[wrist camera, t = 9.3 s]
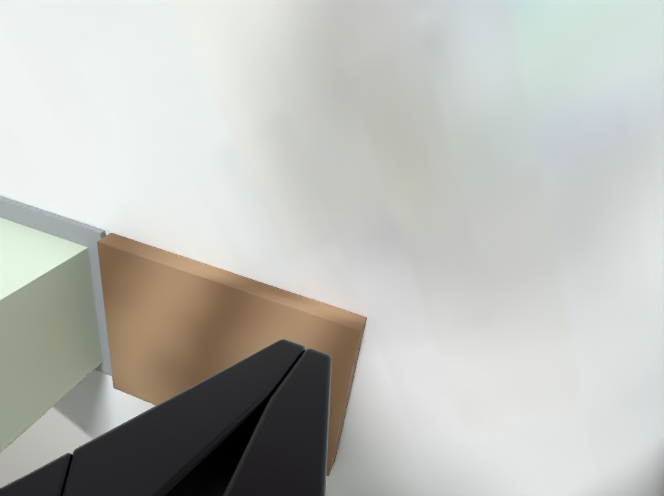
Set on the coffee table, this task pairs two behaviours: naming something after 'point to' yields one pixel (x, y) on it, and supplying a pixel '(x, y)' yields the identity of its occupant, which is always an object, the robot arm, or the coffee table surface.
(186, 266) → the walnut board
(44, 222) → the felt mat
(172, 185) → the coffee table surface
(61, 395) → the tea caddy
